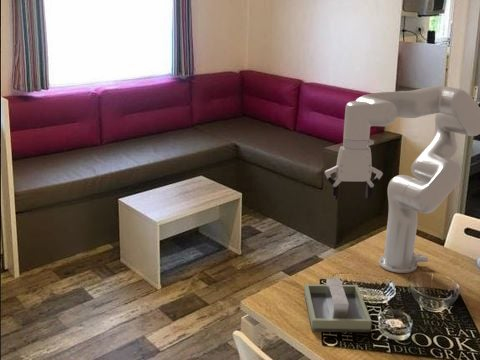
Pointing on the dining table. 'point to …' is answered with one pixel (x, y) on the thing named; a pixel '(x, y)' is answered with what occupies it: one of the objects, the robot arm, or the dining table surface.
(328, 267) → the dining table surface
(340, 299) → the bar
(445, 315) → the dining table surface
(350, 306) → the case
